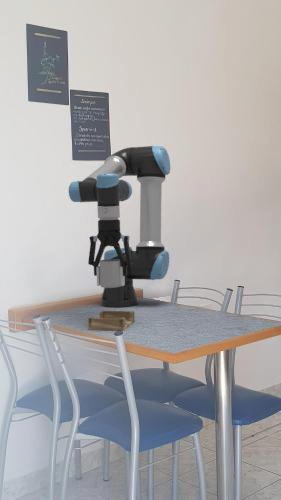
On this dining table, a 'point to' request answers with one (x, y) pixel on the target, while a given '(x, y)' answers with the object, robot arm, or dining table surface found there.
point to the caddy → (112, 320)
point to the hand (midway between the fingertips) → (110, 285)
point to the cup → (110, 273)
